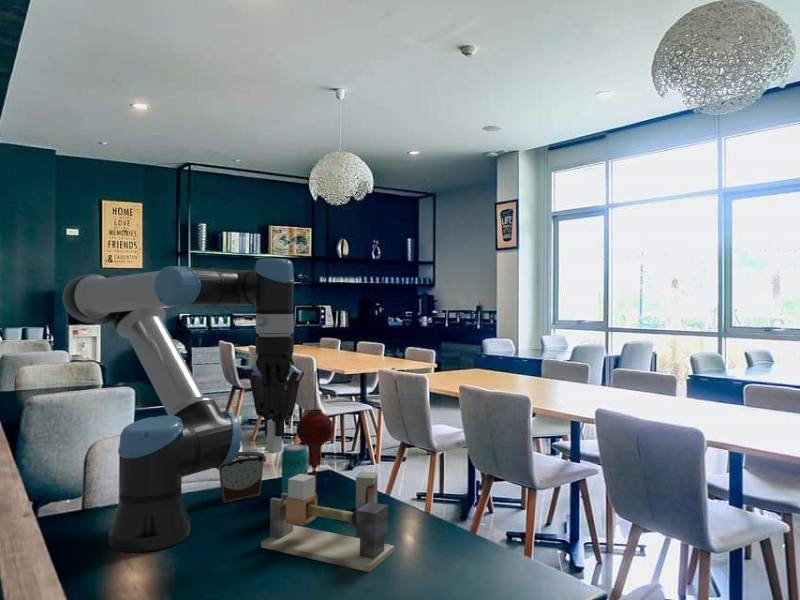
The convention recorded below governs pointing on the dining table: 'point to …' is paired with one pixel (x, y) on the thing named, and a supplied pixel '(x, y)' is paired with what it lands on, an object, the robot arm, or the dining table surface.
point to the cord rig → (332, 535)
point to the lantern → (314, 434)
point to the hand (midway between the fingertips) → (274, 451)
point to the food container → (242, 476)
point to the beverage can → (293, 463)
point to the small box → (366, 488)
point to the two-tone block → (300, 499)
